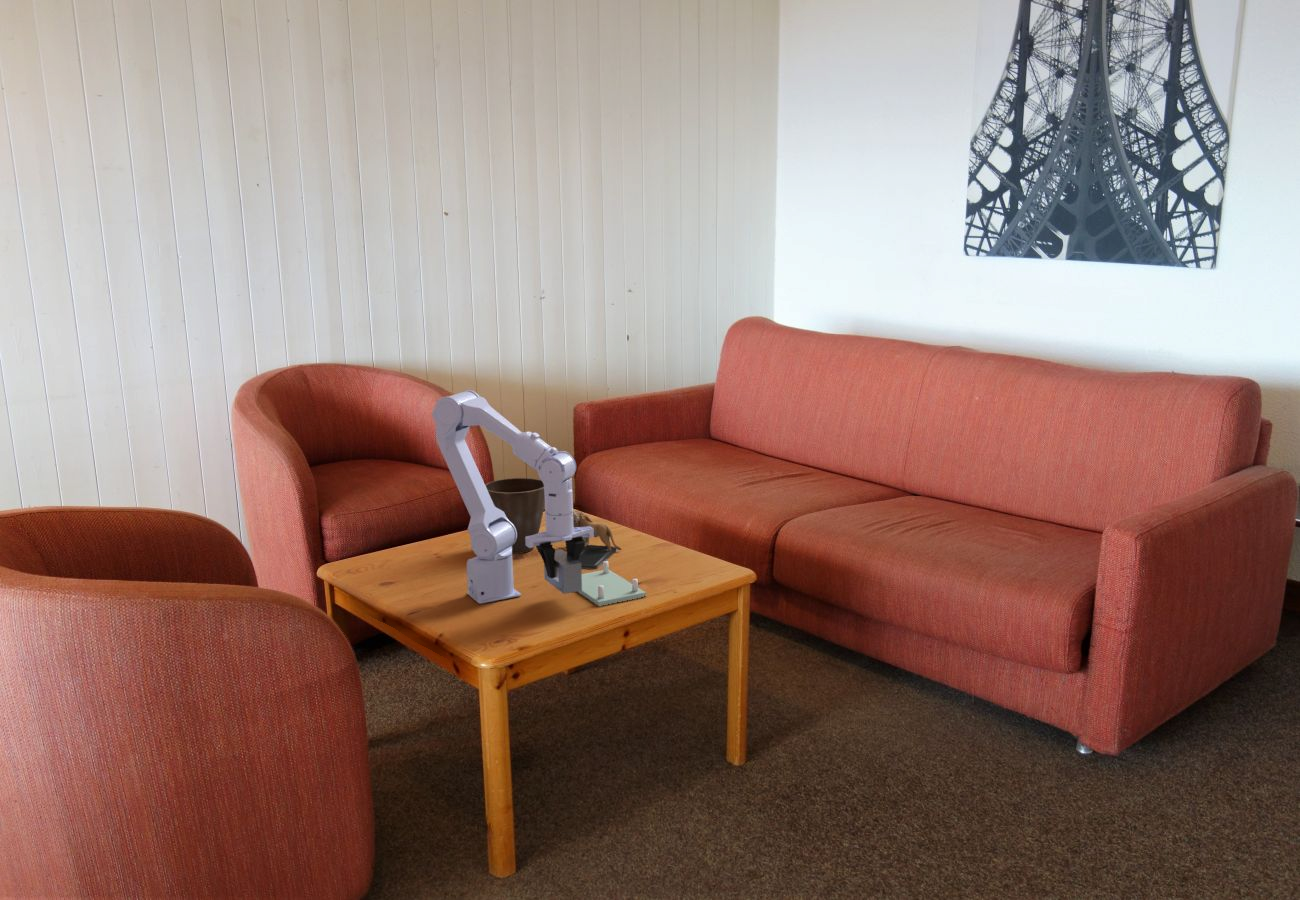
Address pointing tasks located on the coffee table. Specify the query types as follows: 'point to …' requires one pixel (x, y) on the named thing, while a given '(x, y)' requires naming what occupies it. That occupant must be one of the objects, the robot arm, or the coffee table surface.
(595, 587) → the pin tray
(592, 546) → the phone
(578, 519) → the lion figurine
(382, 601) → the coffee table surface
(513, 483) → the plant pot
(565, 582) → the block
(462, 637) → the coffee table surface
